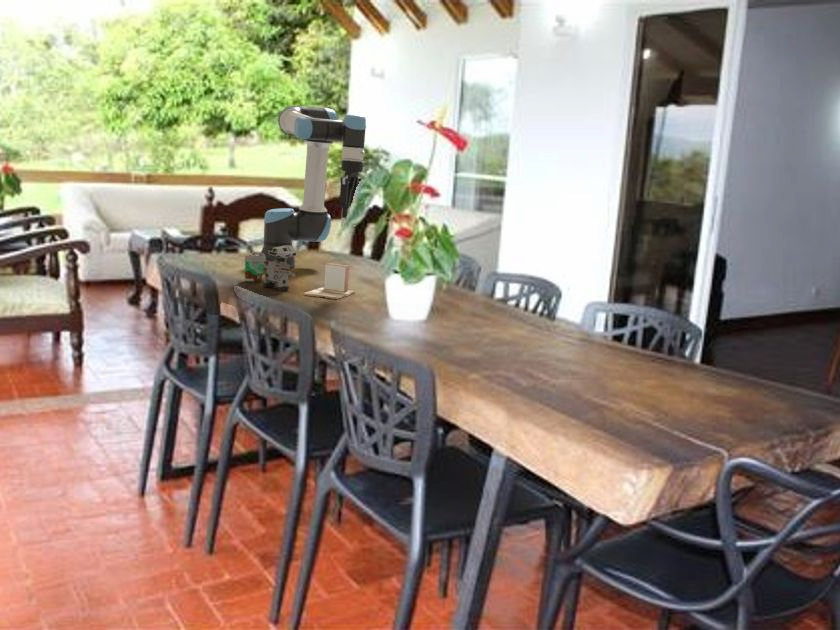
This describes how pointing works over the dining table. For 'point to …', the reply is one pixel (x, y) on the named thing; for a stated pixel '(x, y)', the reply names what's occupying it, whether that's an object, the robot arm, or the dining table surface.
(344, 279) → the tile
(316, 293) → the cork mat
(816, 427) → the dining table surface
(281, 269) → the figurine
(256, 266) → the food container
